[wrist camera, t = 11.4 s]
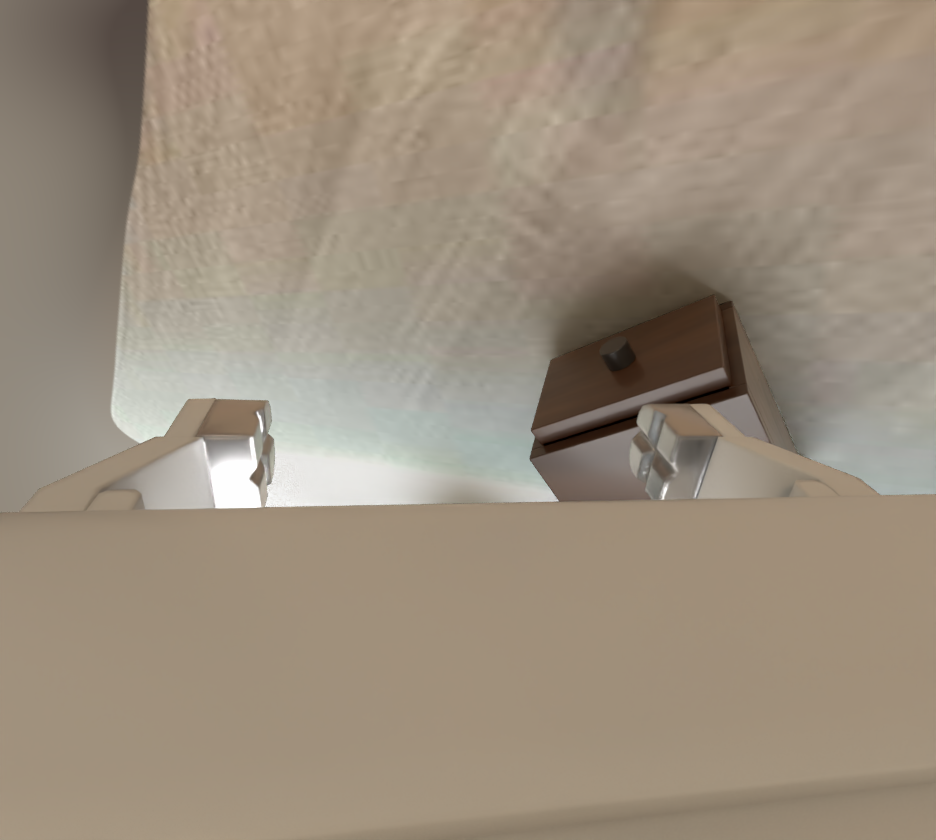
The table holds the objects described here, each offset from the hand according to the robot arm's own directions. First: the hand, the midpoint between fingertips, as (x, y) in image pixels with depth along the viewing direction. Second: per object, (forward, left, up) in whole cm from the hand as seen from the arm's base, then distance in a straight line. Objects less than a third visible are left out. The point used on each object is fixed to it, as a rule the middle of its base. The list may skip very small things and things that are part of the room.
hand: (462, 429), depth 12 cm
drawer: (+2, +16, -22) cm, 27 cm away
